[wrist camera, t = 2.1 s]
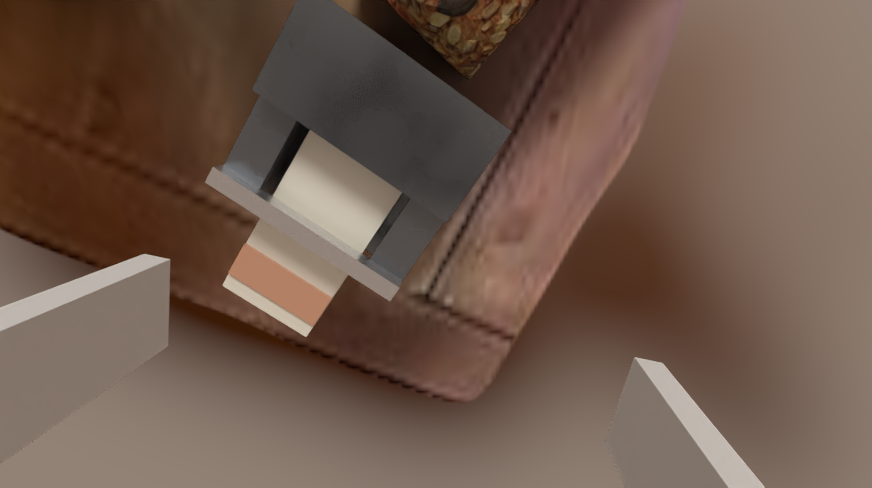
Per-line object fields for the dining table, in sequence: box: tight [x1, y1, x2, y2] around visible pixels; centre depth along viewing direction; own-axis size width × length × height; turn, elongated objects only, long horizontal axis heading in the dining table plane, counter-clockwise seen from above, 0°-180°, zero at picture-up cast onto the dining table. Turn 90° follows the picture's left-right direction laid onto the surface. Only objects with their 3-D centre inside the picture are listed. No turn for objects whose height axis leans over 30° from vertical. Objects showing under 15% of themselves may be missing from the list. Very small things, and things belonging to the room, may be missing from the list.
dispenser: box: [205, 0, 512, 301], centre depth 25 cm, size 10×10×11 cm
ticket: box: [222, 130, 403, 337], centre depth 23 cm, size 5×14×3 cm, turn 146°
